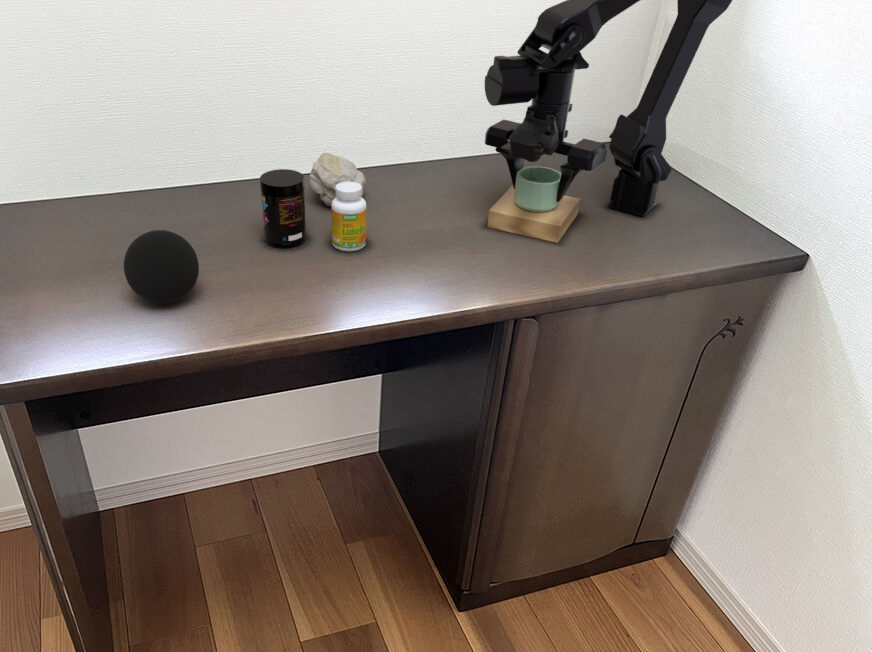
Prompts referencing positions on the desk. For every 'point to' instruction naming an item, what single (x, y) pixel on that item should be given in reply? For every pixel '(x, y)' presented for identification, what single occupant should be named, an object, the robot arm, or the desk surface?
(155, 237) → the decorative ball
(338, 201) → the supplement bottle
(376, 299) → the desk surface
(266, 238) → the supplement container
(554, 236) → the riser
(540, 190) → the bowl
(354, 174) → the fossil replica
